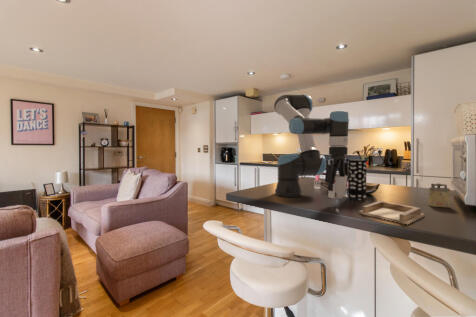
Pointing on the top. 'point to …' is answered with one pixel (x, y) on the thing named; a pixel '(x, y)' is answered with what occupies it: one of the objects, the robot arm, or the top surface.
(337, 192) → the cup
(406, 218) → the rest
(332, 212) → the top surface
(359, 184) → the spotted tube
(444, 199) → the olive box with handle
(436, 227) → the top surface
